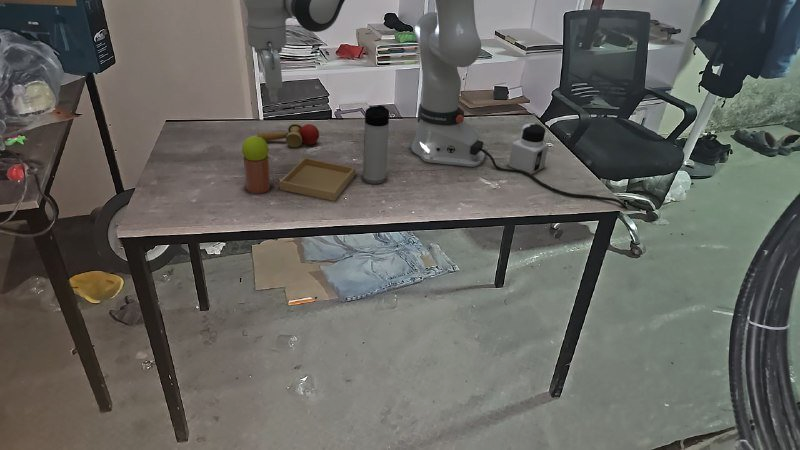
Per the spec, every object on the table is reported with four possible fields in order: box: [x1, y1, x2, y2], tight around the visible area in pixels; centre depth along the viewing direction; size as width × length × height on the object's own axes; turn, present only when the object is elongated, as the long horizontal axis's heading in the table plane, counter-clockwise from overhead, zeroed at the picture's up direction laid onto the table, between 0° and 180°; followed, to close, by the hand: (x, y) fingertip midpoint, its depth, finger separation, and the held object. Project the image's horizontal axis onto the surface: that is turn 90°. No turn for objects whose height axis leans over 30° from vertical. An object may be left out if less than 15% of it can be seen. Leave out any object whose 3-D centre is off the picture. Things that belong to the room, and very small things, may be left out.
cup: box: [243, 155, 271, 194], centre depth 143 cm, size 6×6×9 cm
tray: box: [279, 157, 356, 202], centre depth 150 cm, size 15×15×2 cm
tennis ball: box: [241, 135, 269, 161], centre depth 140 cm, size 6×6×6 cm
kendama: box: [257, 122, 320, 148], centre depth 168 cm, size 8×6×18 cm
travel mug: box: [362, 104, 390, 185], centre depth 149 cm, size 6×7×20 cm
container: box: [508, 123, 550, 175], centre depth 163 cm, size 8×8×13 cm
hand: (271, 93), depth 138 cm, fingers open, 8 cm apart
